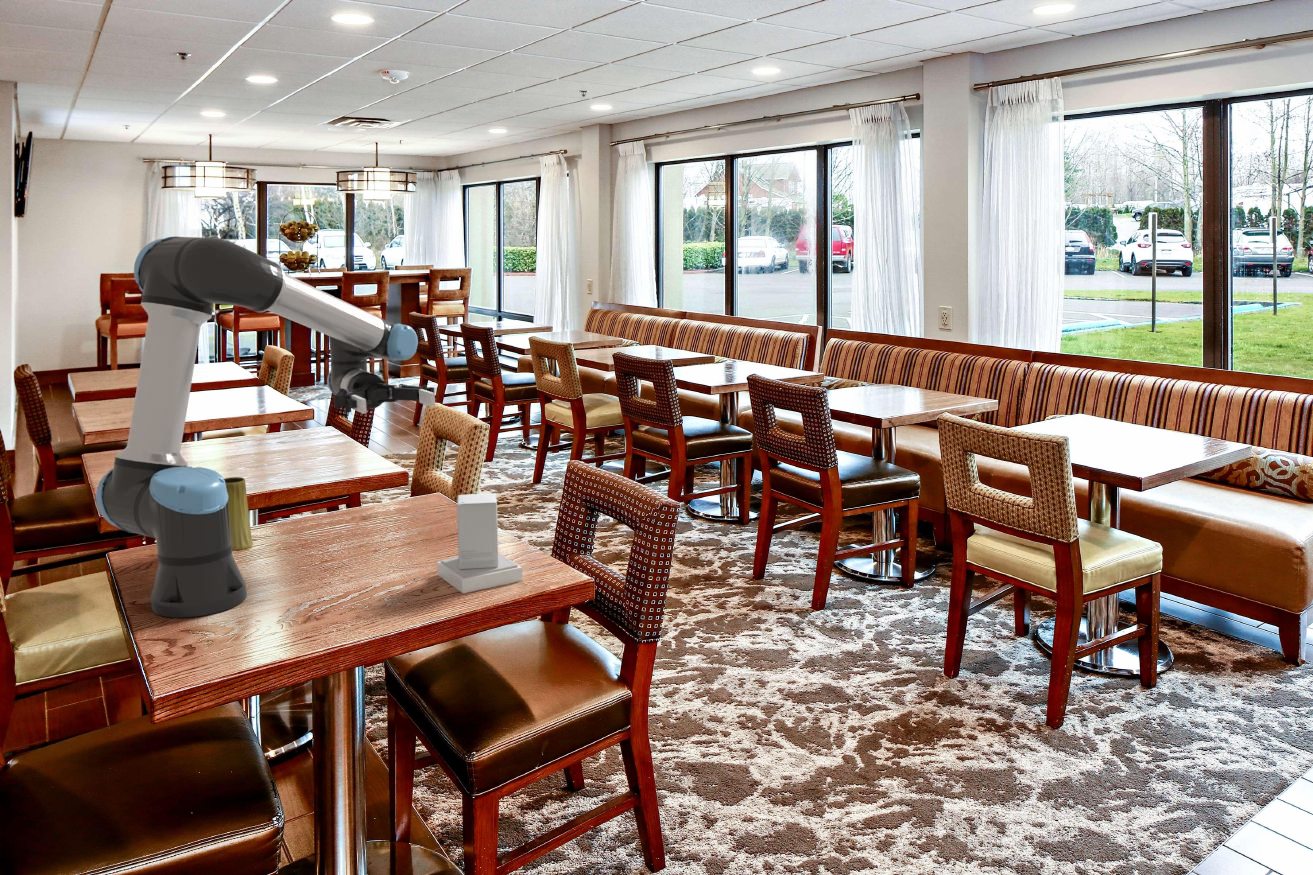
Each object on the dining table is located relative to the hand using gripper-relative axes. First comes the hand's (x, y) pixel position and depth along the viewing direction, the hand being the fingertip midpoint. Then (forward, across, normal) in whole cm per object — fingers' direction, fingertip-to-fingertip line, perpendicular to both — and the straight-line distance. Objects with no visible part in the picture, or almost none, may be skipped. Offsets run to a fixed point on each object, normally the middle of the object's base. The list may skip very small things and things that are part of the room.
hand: (399, 403), depth 182 cm
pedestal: (+17, -8, -32) cm, 37 cm away
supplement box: (+17, -8, -29) cm, 35 cm away
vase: (-29, +26, -32) cm, 51 cm away
